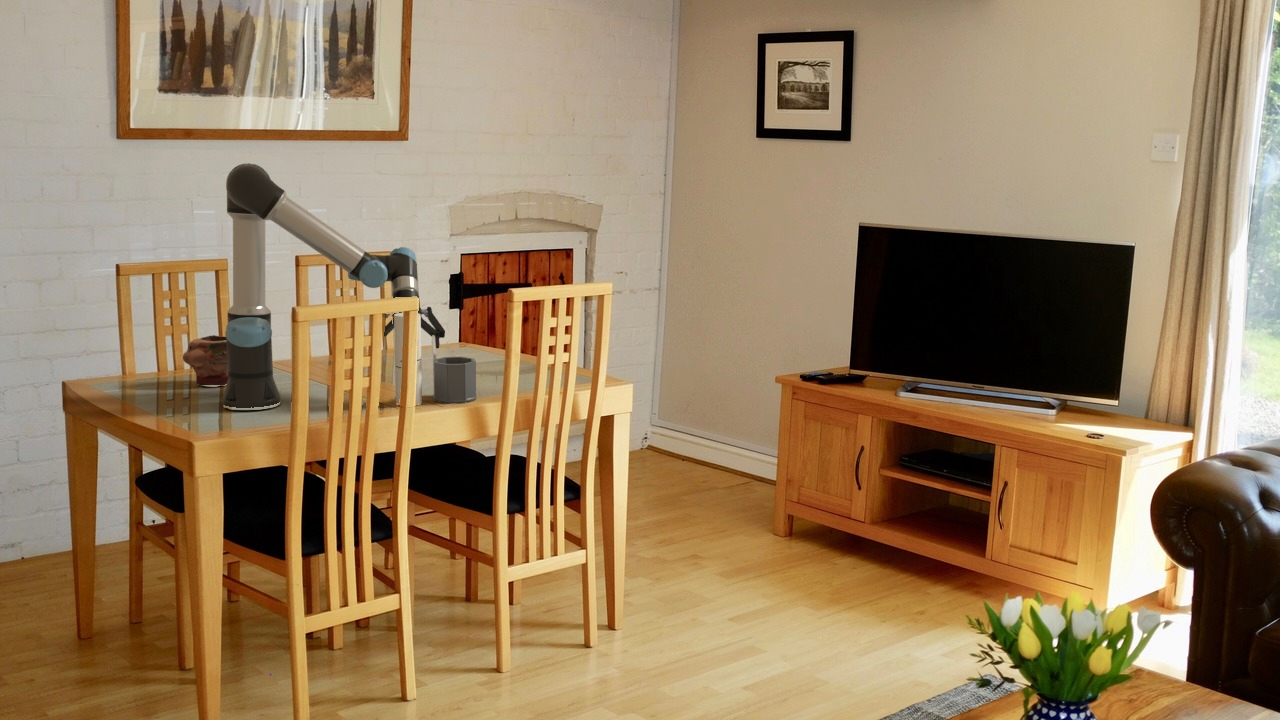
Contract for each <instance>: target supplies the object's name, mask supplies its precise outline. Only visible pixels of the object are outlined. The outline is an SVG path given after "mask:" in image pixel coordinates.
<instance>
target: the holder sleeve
mask: <svg viewBox="0 0 1280 720" xmlns="http://www.w3.org/2000/svg"><path fill="white" fill-rule="evenodd" d="M432 360H433V359H432ZM476 361H477V360H475V358H473V357H466V356H444V357H438V358H436V360H433V361H432V362H433V364H432V365H433V367H432V368H433V369H432V370H433V374H432V375H433V401H434V400H436V401H438V402H437V403H440V402H443V403H442V404H450V403H457V404H466V403H465V402H467V403H472V402H474V401H476V400H477V362H476ZM436 401H435V402H436ZM471 401H472V402H471Z"/></svg>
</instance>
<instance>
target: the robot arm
mask: <svg viewBox="0 0 1280 720" xmlns="http://www.w3.org/2000/svg"><path fill="white" fill-rule="evenodd" d="M225 188H226V213H227V214H228V216H229V217H230V218H231V219H232V294H233V295H232V302H233V303H232V306H231V307H230V308H229V309H227V324H226V327H225V331H224V332H225V333H224V334H225V337H226V341H227V362H228V382H227V385H226V387H225V389H224V393H223V396H222V406H223V405H225V406H229V407H236V408H251V407H252V408H254V407H264V406H270V405H274V404H277V403H279V402H280V401H281V400H282V399H281V395H280V392H279V389H278V387H277V383H276V380H275V378H274V373H273V372H274V371H273V370H274V369H273V368H274V366H273V346H272V344H273V343H272V335H273V330H272V311H271V309H270V308H269V307H267V306H266V221H272V222H273V223H274V224H276V225H278V226H279V227H280V228H282V229H284V230H285V231H286V232H288V233H289V234H291V235H293V236H294V237H295V238H297V239H299V241H301V242H302V243H304V244H306V245H307V246H308V247H310V248H312V249H313V250H314V251H316V252H317V253H318V254H321V255H322V256H324V257H325V258H326V259H327V260H329V261H331V262H332V263H334V264H335V265H336V266H338V267H339V268H341V269H343V270H344V271H345V272H347V278H348V279H349V280H351V281H358V282H359V281H360V282H361V283H362V285H364V286H366V287H367V288H369V289H370V288H371V289H377V288H380V287H381V286H384V284H385V283H386V282H391V283H390V284H391V296H392V297H393V298H395V297H412V296H417V297H418V298H419V299H420V289H419V278H418V263H417V256H416V254H415V252H414V250H413V249H410V248H408V247H403V246H400V247H399V248H394V249H392V250H391V252H389V254H388V255H387V254H386V255H384V254H370V253H368V252H367V251H366V250H364V249H363V248H361V247H360V246H359V245H357V244H355V243H354V242H352V241H351V240H350V239H348V238H347V237H346V236H344V235H342V234H341V233H340V232H338V231H337V230H335V228H333V227H331V226H330V225H329V224H327V223H325V222H324V221H322V220H321V219H320V218H318V217H317V216H315V215H314V214H312V213H311V212H309V211H308V210H306V209H305V208H304V207H302V206H301V205H299V204H298V203H297V202H295V201H293V199H291V198H289V197H288V196H287V192H286V190H285V189H283V188H282V187H280V186H279V185H277V183H275V182H274V181H273V180H272V178H271V177H270V175H269V173H268V172H267V171H266V170H265V169H264V168H263V167H262V166H260V165H258V164H255V163H242V164H238V165H236V166H235V167H234V168H232V169H231V170H230V172H229V173H228V175H227V178H226V182H225ZM420 303H421V302H420V301H419V311H418V313H419V314H421V330H423V331H424V332H426V333H427V334H428V335H429V336H430V337H431V347H432V350H431V351H432V360H436V359H437V349H439V348H440V338H441V339H444V338H445V336H446V330H445V328H444V327H443V325H441V323H440V321H439V320H438V319H437V318H436V316H435V315H434V313H433V310H432V307H431V306H427V307H426V308H424V309H422V307H421V305H420ZM399 313H402V312H399ZM394 314H397V313H394ZM394 314H393V315H390V314H385V321H386V319H388V318H389V316H392V318H393V324H392V319H390V321H389V322H388V323H387V324H386V325H385V326H384V327H385V332H384V347H383V350H382V362H387V353H386V349H387V348H386V337H387V336H388V335H389V334H390V333H391V332H392V331H393V330H394ZM422 315H423V316H424V317H425V318H427V319H428V321H429V323H428V322H427V321H426V320H425V319H424V318H423V317H422ZM430 324H431V325H430Z"/></svg>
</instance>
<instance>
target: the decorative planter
mask: <svg viewBox="0 0 1280 720" xmlns="http://www.w3.org/2000/svg"><path fill="white" fill-rule="evenodd" d="M182 360H183V362H184V363H185V364H187V365H188V366H190V367H192V369H193V370H194V373H195V377H196V379H195V380H196V381H195V382H196V385H197V384H199V385H225V384H227V382H228V362H227V341H226V336H222V335H220V336H219V335H214V334H213V335H207V336H204V337H200V338H196V339H195V338H194V339H193V340H191V341H190V342H189V344H188V345H187V350H186V351H185V352H183V354H182ZM199 385H198V386H199Z"/></svg>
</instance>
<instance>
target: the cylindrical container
mask: <svg viewBox="0 0 1280 720" xmlns="http://www.w3.org/2000/svg"><path fill="white" fill-rule="evenodd" d="M421 317H422V315H421V314H419V313H418V340H417V346H418V350H417V384H416V405H417V404H418V403H419V404H420V403H422V404H423V387H422V386H423V385H422V383H423V382H422V380H423V379H422V376H423V375H422V334H421V333H422V328H421ZM393 330H394V332H393V333H394V334H393V335H394V369H395V370H394V374H395V379H394V381H395V383H394V385H395V403H396V402H397V403H398V404H399V399H400V389H401V374H402V346H403V313H397V314H394V329H393Z"/></svg>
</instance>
